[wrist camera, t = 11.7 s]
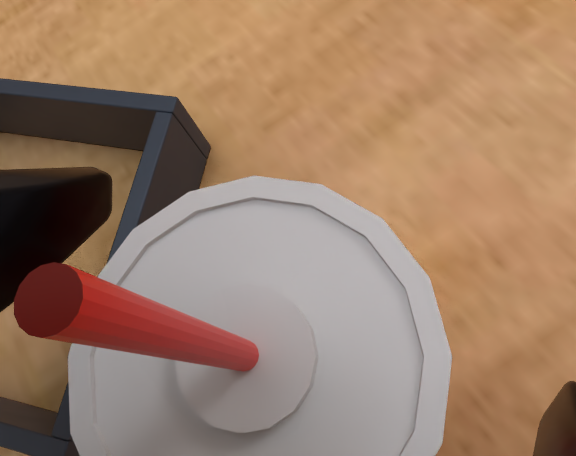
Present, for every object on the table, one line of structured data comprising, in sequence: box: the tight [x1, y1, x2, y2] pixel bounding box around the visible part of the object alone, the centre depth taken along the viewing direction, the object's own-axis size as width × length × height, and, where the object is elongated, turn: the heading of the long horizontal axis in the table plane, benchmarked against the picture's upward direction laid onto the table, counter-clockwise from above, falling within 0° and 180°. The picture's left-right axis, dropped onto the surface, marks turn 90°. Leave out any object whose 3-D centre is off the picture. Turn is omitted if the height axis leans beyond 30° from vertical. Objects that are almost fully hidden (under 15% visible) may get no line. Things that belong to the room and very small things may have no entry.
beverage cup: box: [14, 176, 452, 456], centre depth 10 cm, size 6×6×14 cm
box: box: [0, 78, 211, 456], centre depth 18 cm, size 11×11×4 cm
